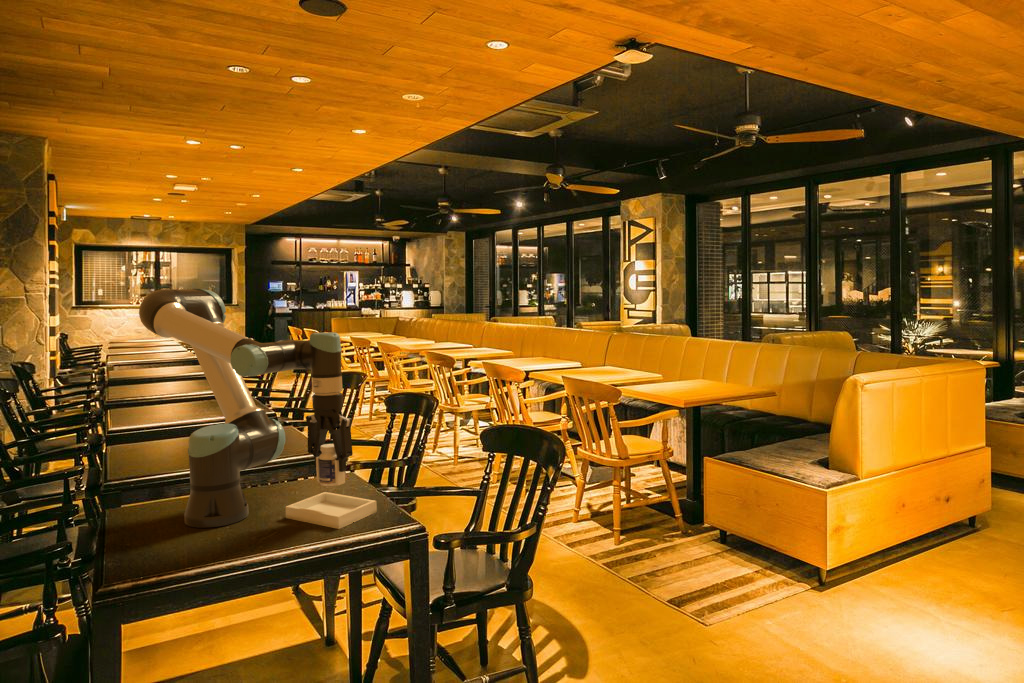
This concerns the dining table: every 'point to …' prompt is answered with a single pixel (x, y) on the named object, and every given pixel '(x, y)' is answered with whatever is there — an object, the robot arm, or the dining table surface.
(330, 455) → the pill bottle
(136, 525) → the dining table surface
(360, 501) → the serving tray
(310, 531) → the dining table surface
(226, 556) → the dining table surface
